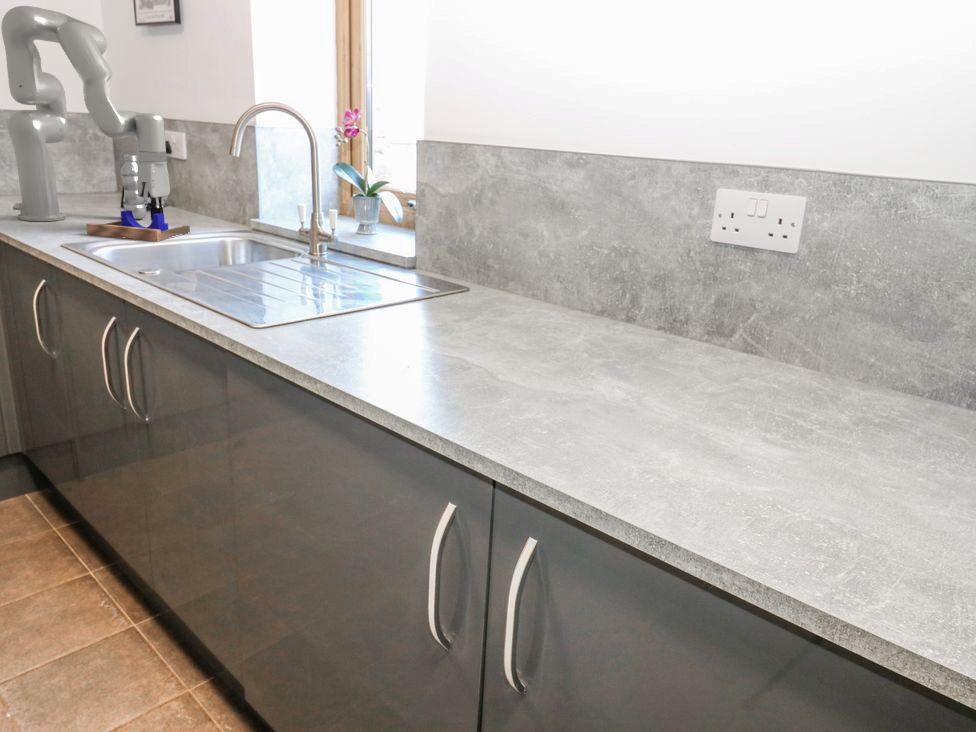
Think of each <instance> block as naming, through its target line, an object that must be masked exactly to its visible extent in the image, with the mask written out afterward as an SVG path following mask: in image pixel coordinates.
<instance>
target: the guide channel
mask: <svg viewBox="0 0 976 732" xmlns="http://www.w3.org/2000/svg"><path fill="white" fill-rule="evenodd" d="M85 225H86V231H87V235H89V236H96V235H99V236H98V237H106V236H114V237H113V238H116V237H125V238H124V239H127V238H135V239H134V240H137V239H142V240H141V241H149V242H150V241H151V242H160V241H164V240H168V239H167V238H169V237H172V236H176V235H180V234H183V235H186V234H185V233H187V234H189V233H188V232H190V233H191V228H190V227H191V226H190V225H181V226H177V227H173V228H168V230H165V231H161V230H159V229H149V228H138V227H127V226H122V221H121V220H116V221H111V222H107V223H93V222H91V223H86V224H85ZM180 236H181V235H180ZM176 237H177V236H176ZM172 238H173V237H172ZM169 239H170V238H169Z"/></svg>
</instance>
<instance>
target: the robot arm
mask: <svg viewBox="0 0 976 732" xmlns="http://www.w3.org/2000/svg"><path fill="white" fill-rule="evenodd" d="M0 28H1V35H2V41H3V44H4V50H5V58H6V60H5V61H6V69H7V70H6V71H7V78H8V88H9V92H10V95H11V97H12V99H13V100H14V101H15V102H17V103H19V104H21V105H25V106H35V108H36V109H22V110H17V111H15V112H13V113H11V114H10V116H9V118H8V119H7V126H6V127H7V131H8V134H9V137H10V140H11V142H12V147H13V150H14V155H15V160H16V167H17V174H18V175H17V176H18V182H19V191H20V196H21V198H20V199H21V202H16V203H14V205H12V210H13V211H19V212H20V213H19V214H17V217H18V218H17V219H18V220H22V221H25V222H26V221H27V222H52V221H53V222H55V221H61V220H65V219H66V218H67V217H66V216H67V215H66V214H65V213H62V212H60V205H59V199H58V198H59V197H58V190H57V189H58V188H57V182H56V174H55V167H54V165H55V164H54V159H53V157H52V154H51V151H50V149H49V147H48V145H47V144H56V143H60V142H62V141H64V139H65V138H66V137H67V134H68V131H69V130H68V129H69V122H68V111H67V99H66V98H67V97H66V91H65V88H64V86H63V84H62V82H61V80H59V78H58V77H56V76H55V75H54V74H52V73H50V72H45V71H43V70H42V59H41V54H40V52H39V49H38V48H37V46H36V44H35V43H34V42H35V41H36V40H38V41H39V40H40V41H43V42H44V41H45V42H51V43H57V44H59V46H60V47H61V49H62V51H63V52H64V53H65V56H66V57H67V59H68V60H69V62H70V63H71V65H72V67H73V69H74V70H75V72H76V74H77V75H78V77H79V78H80V80H81V82H82V84H83V87H82V88H83V89H82V90H83V92H82V93H83V99H84V104H85V108H86V110H87V112H88V113H89V115H90V117H91V118H92V121H93V122H94V124H96V126H97V128H98V129H99V130H100V131H101V132H102V133H103V134H104V135H105V136H107V137H109V138H111V139H132V138H133V139H134V138H136V145H137V159H138V162H137V163H138V169H137V188H138V195H139V196H140V197H144V203H147V204H148V207H149V210H150V211H149V212H150V213H149V214H150V221H152V219H153V214H158V213H161V214H164V207H165V201H166V200H168V196H169V194H170V193H171V185H170V176H169V170H168V165H167V164H168V161H167V160H168V159H167V150H166V149H167V148H166V146H167V145H166V137H165V135H166V134H165V122H164V118H163V116H162V115H161V114H160V113H152V112H137V111H133V110H120V109H118V110H116V109H115V107H114V105H113V104H112V102H111V100H110V99H109V97H108V94H107V91H106V83H107V82H108V81H110V80H111V78H112V76H113V72H112V69H111V68H110V66H109V64H108V63H107V61H106V59H105V57H104V56H103V55H104V54H105V52H107V46H108V43H107V39H106V37H105V34H104V33H103V32H102V30H100V28H98V27H97V26H95V25H92V24H90V23H87V22H85V21H83V20H80V19H77V18H76V17H73V16H70V15H67V14H65V13H63V12H59V11H55V10H51V9H46V8H41V7H37V6H33V5H32V6H30V5H19V6H14V7H12V8H10V9H9V10H7V12H6V13H4V15H3V18H2V20H1V27H0Z"/></svg>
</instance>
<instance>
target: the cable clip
mask: <svg viewBox="0 0 976 732" xmlns="http://www.w3.org/2000/svg"><path fill="white" fill-rule="evenodd" d="M120 221H122V226H127V227H138V228H149V229H159V230H161V231H165V230H169V223H167V222H165V213H163V214H161V213H158V214H153V219H152V220H151V223H150V224H149V225H148V226H143V225H142V224H140V223H139V222H138V221H137V220H135V219H134V217H133V214H132V211H131V210H125V211H124V210H120Z"/></svg>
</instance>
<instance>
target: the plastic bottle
mask: <svg viewBox="0 0 976 732" xmlns="http://www.w3.org/2000/svg"><path fill="white" fill-rule="evenodd" d="M123 161H125V162H124V164H123V165H122V167H121V169H120V175H121V176H120V177H121V180H122V184H123V192H124V205H123V211H125V210H131V211H132V214H133V217H134V219H135V220H136V221H137V220H141V219H145V218H146V216H147V212H148V211H147V207H146V204H145V202H144V197H140V196H139V195H138V188H137V169H138V163H139V158H138V154H130V153H129V154H127V153H125V154H123Z"/></svg>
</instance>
